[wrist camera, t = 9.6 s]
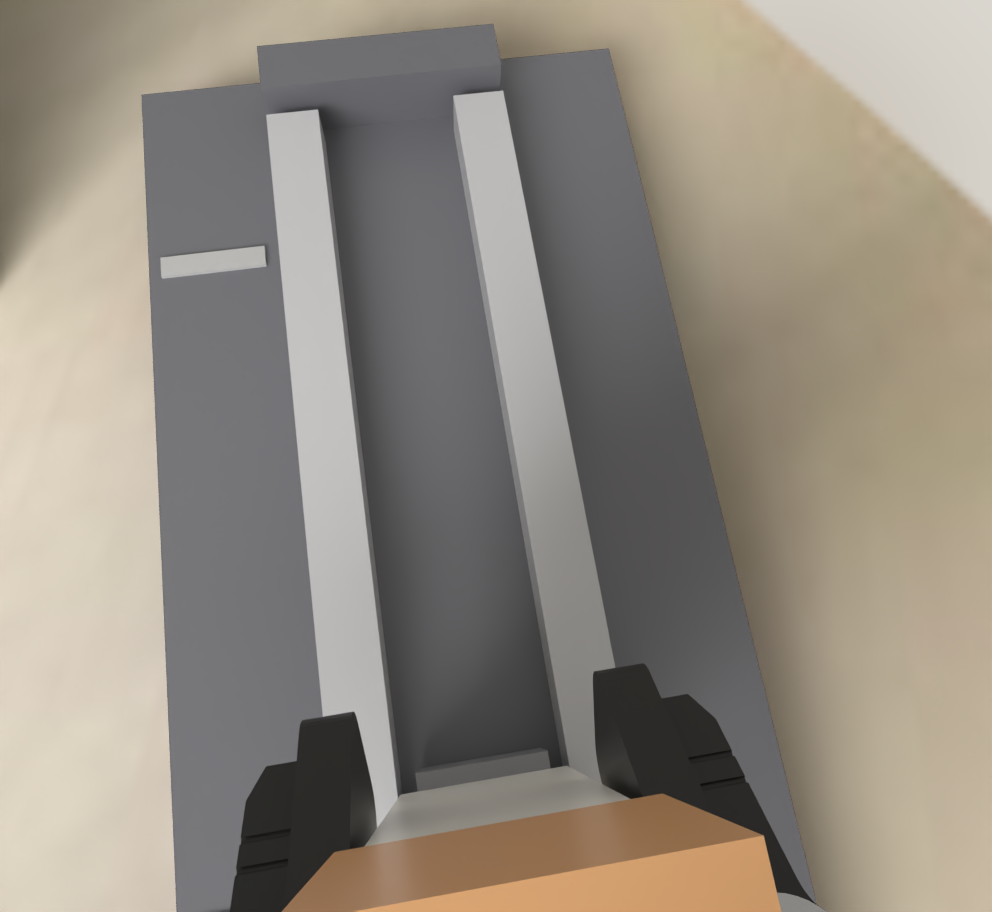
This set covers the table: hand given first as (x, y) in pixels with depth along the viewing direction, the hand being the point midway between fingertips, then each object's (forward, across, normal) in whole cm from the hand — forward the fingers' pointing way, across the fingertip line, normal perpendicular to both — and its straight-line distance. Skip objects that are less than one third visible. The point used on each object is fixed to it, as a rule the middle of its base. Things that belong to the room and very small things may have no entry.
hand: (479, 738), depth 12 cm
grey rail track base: (+8, 0, +2) cm, 8 cm away
